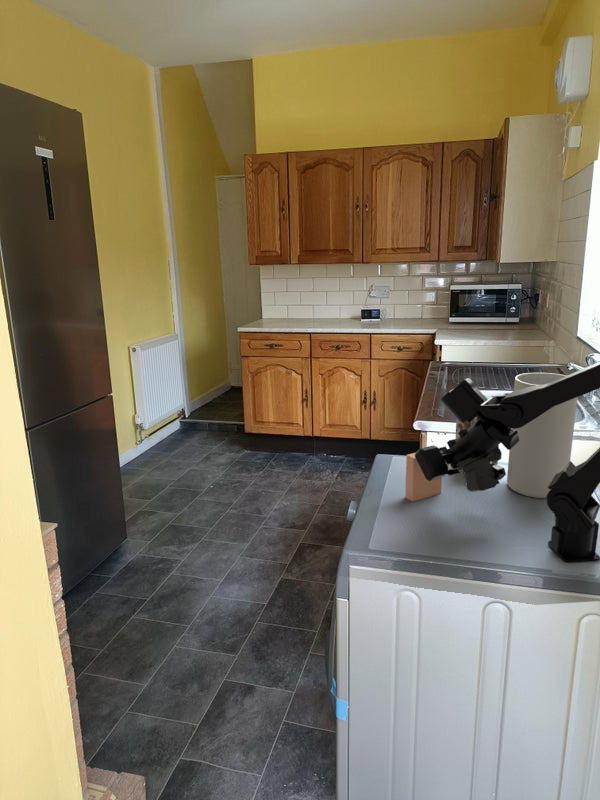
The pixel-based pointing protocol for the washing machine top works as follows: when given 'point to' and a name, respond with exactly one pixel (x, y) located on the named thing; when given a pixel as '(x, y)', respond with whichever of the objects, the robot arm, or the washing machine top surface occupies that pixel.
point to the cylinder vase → (541, 442)
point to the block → (419, 481)
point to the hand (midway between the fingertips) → (437, 473)
